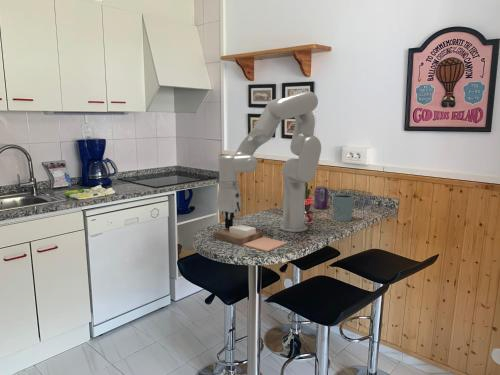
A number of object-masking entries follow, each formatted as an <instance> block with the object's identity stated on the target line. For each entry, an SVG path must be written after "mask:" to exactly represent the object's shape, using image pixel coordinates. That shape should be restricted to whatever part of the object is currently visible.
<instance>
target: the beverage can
mask: <svg viewBox="0 0 500 375" xmlns="http://www.w3.org/2000/svg"><path fill="white" fill-rule="evenodd" d="M328 195H329V190H328V187H327V186H325V185H323V186H322V185H319V186H318V185H317V186H316V187H315V189H314V204H313V205H314V208H315V209H317V210H326V209H327V208H328V201H329V200H328Z"/></svg>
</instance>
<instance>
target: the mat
mask: <svg viewBox="0 0 500 375" xmlns="http://www.w3.org/2000/svg"><path fill="white" fill-rule="evenodd" d="M287 244H288V241H287V242H286V241H282V240H279V239H276V238H275V239H274V238H269V237H266V236H263V237H262V238H259V239H256V240H253V241H250V242H248V243H245V244H243V245H242V246H246V247H248V248H252V249H256V250H259V251H263V252H267V253H268V252H270V251H273V250H274V249H275V250H276V249H277V248H280V247H282V246H285V245H287Z"/></svg>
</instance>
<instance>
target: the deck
mask: <svg viewBox="0 0 500 375" xmlns="http://www.w3.org/2000/svg"><path fill="white" fill-rule="evenodd" d="M263 234H264V232H263V231H261V230H257V229H256V234H253V235H250V236H247V237H245V236H241V235H237V234H233V233H230V228H229V229H228V228H223V229H219V230H217V231H213V232H212V236H213V237H212V238H213V239H216V240H220V241H221V242H227V243H230V244H234V245H237V246H244V245H243V244H245V243H248V242H250V241H253V240H256V239H259V238H262V237H264V236H263Z"/></svg>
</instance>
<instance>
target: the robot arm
mask: <svg viewBox="0 0 500 375" xmlns="http://www.w3.org/2000/svg"><path fill="white" fill-rule="evenodd" d="M318 103H319V99H318V96H317V95H316V94H315V92H312V91H310V90H309V91H306V90H305V91H297V92H294V93H291V94H290V95H289V96H287V97H282V98H281V97H280V98H275V99H272V100H270V101H269V102H268V103H267V104H266V106H265V107H264V109H263V111H262V112H261V114H260V116H259V118H258V119H257V121H256V123H255V126H254V127H253V128H252V130H251V131H250V132H249V133H248V134H247V136H246V137H244V138H243V139H242V141H241V143H240V144H239V146H238V148H237V150H236V151H235V153H234V154H223V155H220V156H219V166H218V167H219V172H218V173H219V175H218V176H219V187H218V190H217V209H218V212H219V213H220V214H222V216H223V219H224V229H226V228H228V229H229V228H230V227H231V226H234V219H235V217H237V216H240V212H241V211H242V197H241V196H242V195H241V191H240V188H238V187H239V186H240V184H239V182H238V181H239V180H238V179H239V177H238V176H239V175H238V173H245V174H248V173H250V174H251V173H252V172H255V171H256V170H257V168H258V159H257V158H256V157H255V156H254V153H255V152H256V151H257V150H258V149H259V148H260V147H261V146H263V145H265V143H267V142H269V141H270V140H271V139H272V138H273V137H274V134H275V132H276V131H277V128H278V127H279V125H280V123H281V121H282V120H289V119H293V118H294V122H295V123H294V129H293V133H292V138H291V141H290V152H291V153H292V154H293V155H295V156H298V158H289V159H287V160H286V161H285V162H284V163H283V165H282V169H281V173H282V181H283V182H282V183H283V203H282V204H283V210H282V211H283V212H282V223H281V224H280V225H279V229H280V230H281V231H284V232H290V233H300V232H306V231H307V230H308V225H307V224H305V222H308V221H309V220H310V219H309V217H308V216H306V217H305V214H304V212H305V201H306V186H305V184H308V183H310V182H311V181H312V180H313V179H314V178H315V175H316V173H317V170H318V166H319V162H320V158H321V153H322V143H321V141H320V139H319V138H318V137H317V136H315V135H314V131H315V126H316V121H315V120H316V119H315V115H314V113H313V111H314V110H315V109H316V108H317V106H318Z"/></svg>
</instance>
